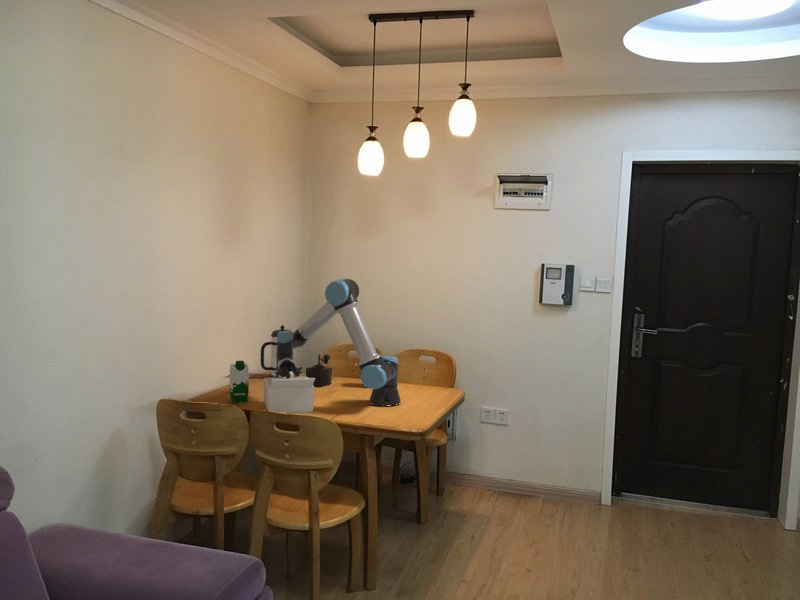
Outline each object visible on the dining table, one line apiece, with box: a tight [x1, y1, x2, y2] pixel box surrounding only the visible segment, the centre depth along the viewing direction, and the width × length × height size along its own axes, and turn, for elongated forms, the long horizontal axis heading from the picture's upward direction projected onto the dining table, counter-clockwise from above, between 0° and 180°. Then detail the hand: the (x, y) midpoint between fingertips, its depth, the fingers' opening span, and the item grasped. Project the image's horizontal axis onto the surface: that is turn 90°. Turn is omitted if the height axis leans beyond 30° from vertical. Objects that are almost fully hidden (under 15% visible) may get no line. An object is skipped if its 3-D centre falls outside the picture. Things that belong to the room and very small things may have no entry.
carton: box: [263, 376, 315, 414], centre depth 313 cm, size 22×21×12 cm
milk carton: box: [229, 360, 250, 404], centre depth 321 cm, size 9×9×20 cm
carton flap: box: [270, 378, 315, 389], centre depth 296 cm, size 11×19×1 cm
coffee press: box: [260, 325, 294, 378], centre depth 376 cm, size 17×16×30 cm
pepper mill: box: [305, 354, 333, 388], centre depth 361 cm, size 16×11×18 cm
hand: (292, 377), depth 294 cm, fingers closed
